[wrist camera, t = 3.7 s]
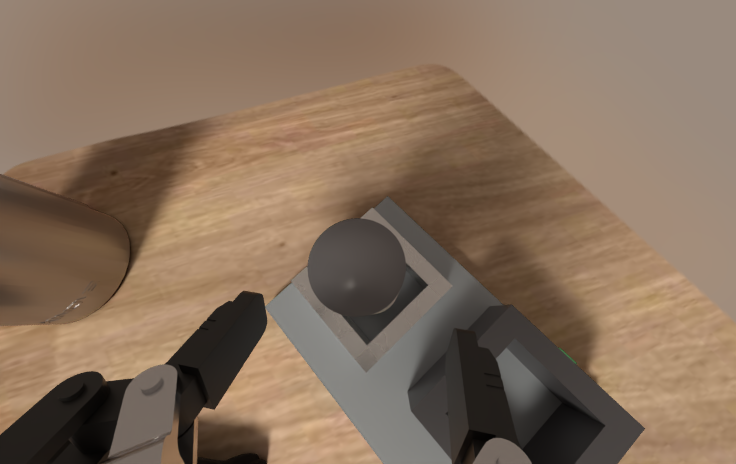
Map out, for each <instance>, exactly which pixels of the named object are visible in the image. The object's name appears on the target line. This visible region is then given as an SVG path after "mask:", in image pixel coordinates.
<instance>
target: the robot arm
mask: <svg viewBox="0 0 736 464" xmlns="http://www.w3.org/2000/svg"><path fill="white" fill-rule="evenodd" d="M129 256H130V243H129V238H128V235H127V232H126V230H125V229H124V227H123V226H122V224H121V223H120V222H119V221H117V220H116V219H115V218H114V217H111V216H109V215H107V214H104V213H101V212H99V211H96V210H93V209H90V208H89V206H88V205H86V204H84V203H81V202H78V201H75V200H72V199H70V198H67V197H64V196H61V195H58V194H56V193H53V192H50V191H47V190H44V189H41V188H39V187H36V186H33V185H30V184H27V183H25V182H22V181H19V180H16V179H13V178H11V177H8V176H5V175H2V174H0V326H18V325H48V324H67V323H71V322H75V321H78V320H80V319H82V318H85V317H87V316H89V315H90V314H92V313H93V312H95V311H96V310H98V309H99V308H100V307H101V306H102V305H103V304H104V303H105V302H107V301H108V300H109V299H110V297H111V296H112V295H113V293H114V292H115V291H116V290H117V288H118V287H119V285H120V283H121V281H122V279H123V277H124V275H125V273H126V270H127V267H128V263H129ZM266 326H267V315H266V310H265V304H264V298H263V295H262V294H260V293H254V292H248V291H243V292H241V293H240V294H239V295H238V296H237V298H236V299H235V300H234V301H233V302H232V301H228V302H226V303H225V304H223V305H222V306H220V307H218V308H217V309H216V310H215V311H214V312H213V313H212V314H211V315H210V316H209V317H208V318H207V321H205V322H204V323H203V324H202V325H201V326H200V327H199V329H197V330H196V331H195V332H194V334H193V335H192V336H191V337H190V338H189V339H188V340H187V341H186V342H185V343H184V344H183V345H182V347H181V348H180V349H179V350H178V351H177V352H176V353H175V354H174V355H173V356H172V357H171V358H170V360H169V361H168V362H167V363H165V364H164V365H158V366H154V367H152V368H149V369H147V370H145V371H144V372H142V373H141V374H139V375H138V376H137V377H136V378H133V379H124V380H116V381H107V382H106V381H105V379H104V378H103V376H102V375H101V374H100V373H98V372H93V371H91V372H84V373H80V374H77V375H75V376H73V377H70V378H68V379H67V380H65V381H63V382H62V383H60V384H59V385H57V386H56V387H55V388H54V389H52V390H51V391H50V392H49V393H48V394H47V395H46V396H44V397H43V398H42V399H41V400H40V401H39V402H38V403H36V404H35V405H34V406H33V407H32V408H31V409H29V410H28V411H27V412H26V413H25V414H24V415H23V416H21V417H20V418H19V419H18V420H17V421H16V422H15V423H13V424H12V425H11V426H10V427H9V428H8V429H7V430H5V431H4V432H3V433H2V434H1V435H0V464H46V463H47V462H48V461H49V460H50V459H51V458H52V456H53V455H54V454H55V453H56V452H57V451H58V450H59V449H60V448H61V447H62V446H63V445H64V444H65V443H66V442H67V441H68V440H69V441H70V442H71V443H70V444H69V445H68V447H67V448H66V449H65V450H64V451H63V452H62V453H61V454H60V455H59V456H58V457H57V458H56V460H55V461H54V462H53V463H52V464H197V441H198V417H197V415H198V414H199V413H200V411H201V410H202V408H203V407H205V408H209V409H214V410H215V408H216V407H217V405H218V403H219V402H220V400H221V399H222V397H223V396H224V394H225V393H226V391H227V389H228V388H229V386H230V385H231V383H232V382H233V380H234V379H235V377H236V375H237V374H238V372H239V371H240V369H241V368H242V366H243V365H244V363H245V361H246V360H247V358H248V357H249V355H250V354H251V352H252V351H253V349H254V348H255V346H256V344H257V343H258V341H259V340H260V338H261V337H262V335H263V333H264V331H265V329H266ZM445 373H446V387H447V401H448V416H449V430H450V444H451V459H452V464H532V463H531V461H530V460H529V458H528V457H527V455H526V454H525V453H524V452H523V450H522V449H521V447H520V444H519V442H518V439H517V435H516V432H515V428H514V424H513V420H512V416H511V412H510V408H509V405H508V401H507V397H506V393H505V391H504V385H503V381H502V379H501V374H500V370H499V366H498V362H497V360H496V359H495V357H494V356H493V354H492V353H491V351H490V350H489V349H488V348H483V347H478V342H477V337H476V333H475V332H474V331H470V330H464V329H458V328H454V330H453V333H452V336H451V339H450V343H449V346H448V350H447V354H446V361H445Z"/></svg>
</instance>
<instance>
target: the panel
mask: <svg viewBox="0 0 736 464" xmlns="http://www.w3.org/2000/svg"><path fill="white" fill-rule="evenodd" d="M374 209H375V210H376V211H377V212H378V213H379V214H380V215H381V216H382V217H383V218H384V219H385V220H386V221H387V222H388V223H389V224H390V225H391V226H392V227H393V228H394V229H395V230H396V231H397V232H398V233H399V234H400V235H401V236H402V237H403V238H404V239H405V240H406V241H407V242H408V243H409V244H410V245H412V246H413V247H414V248H415V249H416V250H417V251H418V252H419V253H420V254H421V255H422V256H423V257H424V258H425V259H426V260H427V261H428V262H429V263H430V264H431V265H432V266H433V267H434V268H435V269H436V270H437V271H438V272H439V273H440V274H441V275H442V276H443V277H444V278H445V279H446V280H447V281H448V282H449V283H450V284H451V285H452V287H451V288H450V289H449V290H448V291H447V292H446V293H445V294H444V295H443V296H442V297H441V298H440V299H439V300H438V301H437V302H436V303H435V304H434V305H433V306H432V307H431V308H430V309H429V310H428V311H427V312H426V313H425V314H424V315H423V316H422V317H421V318H420V319H419V320H418V321H417V322H416V323H415V324H414V325H413V326H412V327H411V328H410V329H409V330H408V331H407V332H406V333H405V334H404V335H403V336H402V337H401V338H400V339H399V340H398V341H397V342H396V343H395V344H394V345H393V346H392V347H391V348H390V349H389V350H388V351H387V352H386V353H385V354H384V355H383V356H382V357H381V358H380V359H379V360H378V361H377V363H376V364H375V365H374V366H373V367H372V368H371V369H370V370H369V371H368V372H367V373H366V372H365V371H364V370H363V368H362V367H361V366H360V365H359V364H358V362H357V361H356V360H355V359H354V357H353V356H352V355H351V354H350V353H349V351H348V350H347V349H346V348H345V346H344V345H343V344H342V343H341V342H340V340H339V339H338V338H337V337H336V335H335V334H334V333H333V332H332V331H331V329H330V328H329V327H328V326H327V324H326V323H325V322H324V321H323V320H322V318H321V317H320V316H319V315H318V313H317V312H316V311H315V310H314V309H313V307H312V306H311V305H310V304H309V302H308V301H307V300H306V299H305V298H304V296H303V295H302V294H301V293H300V291H299V290H298V289H297V288H296V287H295V285H294V284H293V283H291V284H290V285H288V286H287V287H286V288H285V289H284V290H283V291H282V292H281V293H280V294H279V295H277V296H276V297H275V298H274V299H273V300H272V301H271V302H270V303H269V304H267V305H266V306H265V308H266V309H267V311H268V312H269V313H270V315H271V316H272V317H273V319H274V320H275V321H276V323H277V324H278V325H279V327H280V328H281V329H282V331H283V332H284V333H285V334H286V336H287V337H288V338H289V340H290V341H291V342H292V344H293V345H294V346H295V348H296V349H297V350H298V352H299V353H300V354H301V356H302V357H303V358H304V360H305V361H306V362H307V364H308V365H309V366H310V367H311V369H312V370H313V371H314V373H315V374H316V375H317V377H318V378H319V379H320V381H321V382H322V383H323V385H324V386H325V387H326V389H327V390H328V391H329V393H330V394H331V395H332V397H333V398H334V399H335V400H336V402H337V403H338V404H339V406H340V407H341V408H342V410H343V411H344V412H345V414H346V415H347V416H348V418H349V419H350V420H351V422H352V423H353V424H354V426H355V427H356V428H357V430H358V431H359V432H360V433H361V435H362V436H363V437H364V439H365V440H366V441H367V443H368V444H369V445H370V447H371V448H372V449H373V451H374V452H375V453H376V455H377V456H378V457H379V459H380V460H381V461H382V462H383V464H452V460H451V459H450V458H449V456H448V455H447V454H446V453H445V452H444V450H443V449H442V448H441V447H440V446H439V444H438V443H437V442H436V441H435V440H434V438H433V437H432V436H431V435H430V434H429V432H428V431H427V430H426V429H425V428H424V426H423V425H422V424H421V423H420V422H419V420H418V419H417V418H416V417H415V416H414V414H413V413H412V412H411V409H410V404H409V398H408V393H407V392H408V391H409V390H410V389H411V388H412V387H413V386H414V385H415V384H416V383H417V382H418V381H419V380H420V378H421V377H422V376H423V375H424V374H425V373H426V372H427V371H428V370H429V369H430V368H431V367H432V366H433V365H434V364H435V363H436V362H437V361H438V360H439V359H440V358H441V357H442V355H443V354H444V353H445V352H446V351H447V350H448V346H449V343H450V339H451V336H452V333H453V330H454V328H458V329H464V330H467V329H468V328H469V327H470V326H471V325H472V324H473V323H474V322H475V321H476V320H477V319H478V318H479V317H480V316H481V315H482V314H483V313H484V312H485V311H486V310H487V308H488V307H489V306H498V305H503V304H502V303H501V302H500V301H499V300H498V299H497V298H496V297H495V296H493V295H492V294H491V293H490V292H489V291H488V290H487V289H486V288H485V287H484V286H483V285H482V284H481V283H480V282H479V281H477V280H476V279H475V278H474V277H473V276H472V275H471V274H470V273H469V272H468V271H467V270H466V269H465V268H464V267H463V266H462V265H460V264H459V263H458V262H457V261H456V260H455V259H454V258H453V257H452V256H451V255H450V254H449V253H448V252H447V251H446V250H445V249H443V248H442V247H441V246H440V245H439V244H438V243H437V242H436V241H435V240H434V239H433V238H432V237H431V236H430V235H429V234H427V233H426V232H425V231H424V230H423V229H422V228H421V227H420V226H419V225H418V224H417V223H416V222H415V221H414V220H413V219H412V218H410V217H409V216H408V215H407V214H406V213H405V212H404V211H403V210H402V209H401V208H400V207H399V206H398V205H397V204H396V203H395V202H393V201H392V200H391V199H390V198H389V197H388V196H387V197H386V198H385V199H384V200H383V201H382V202H381V203H379V204H378V205H377V206H376V207H375V208H374ZM423 289H424V288H423V287H422V286H421V285H420V284H419V283H418V282H417V281H416V280H415V279H414V278H413V277H412V276H411V275H410V274H409V273H408V272H407V271H406V273H405V278H404V282H403V284H402V287H401V289H400V291H399V294H398V296H397V298H396V300H395V302H394V303H393V305H392V306H391V307H390V308H388V309H387V310H386V311H384V312H381V313H378V314H372V315H367V316H361V317H351V316H349V317H350V318H351V319H352V320H353V322H354V323H355V324H356V325H357V326H358V327H359V329H360V330H361V331H362V332H363V333H364V334H365V336H366V337H367V338H368V339H369V340H370V341H372V340H373V339H374V338H375V337H376V336H377V335H378V334H379V333H380V332H381V331H382V330H383V329H384V328H385V327H386V326H387V325H388V324H389V323H390V322H391V321H392V320H393V319H394V318H395V317H396V316H397V315H398V314H399V313H400V312H401V311H402V310H403V309H404V308H405V307H406V306H407V305H408V304H409V303H410V302H411V301H412V300H413V299H414V298H415V297H416V296H417V295H418V294H419V293H420V292H421V291H422V290H423ZM496 360H497V362H498V366H499V370H500V374H501V379H502V381H503V385H504V391H505V393H506V397H507V401H508V405H509V408H510V412H511V416H512V420H513V424H514V428H515V432H516V435H517V439H518V442H519V444H520V447H521V449H523V448H524V447H525V445H526V444H527V443H528V442H529V441H530V440H531V438H532V437H533V436H534V435H535V434H536V433H537V431H538V430H539V429H540V428H541V427H542V426H543V424H544V423H545V422H546V421H547V420H548V418H549V417H550V416H551V415H552V414H553V413H554V411H555V410H556V409H557V408H558V407H559V406H560V404H561V403H562V402H561V401H560V400H559V399H558V398H557V397H556V396H555V395H554V394H553V393H552V392H551V391H550V390H549V389H548V388H547V387H546V386H545V385H544V384H543V383H542V382H541V381H540V380H538V379H537V378H536V377H535V376H534V375H533V374H532V373H531V372H530V371H529V370H528V369H527V368H526V367H525V366H524V365H523V364H522V363H521V362H520V361H519V360H518V359H517V358H516V357H515V356H514V355H513V354H512V353H511V352H510V351H509V350H508V349H507V348H506V349H505V350H504V351H503V352H502V353H501V354H500V355H499V356H498V357H497V358H496Z"/></svg>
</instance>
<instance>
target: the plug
mask: <svg viewBox="0 0 736 464" xmlns="http://www.w3.org/2000/svg"><path fill="white" fill-rule="evenodd" d="M405 273H406V260H405V255H404V251H403V249H402V246H401V244H400V242H399V241H398V239H397V238H396V236H395V235H394V234H393V233H392V232H391V231H390V230H389V229H388V228H386V227H385V226H383V225H382V224H380V223H378V222H375V221H372V220H368V219H361V218H355V219H347V220H344V221H340V222H338V223H336V224H334V225H332V226H331V227H329V228H328V229H327V230H325V231H324V232H323V233H322V234H321V235H320V236H319V238H318V239H317V240H316V242H315V244H314V245H313V247H312V250H311V252H310V255H309V260H308V278H309V282H310V285H311V288H312V290H313V292H314V294H315V295H316V297H317V298H318V299H319V301H320V302H321V303H322V304H323V305H325V306H326V307H327V308H328V309H330V310H332V311H334V312H336V313H338V314H341V315H345V316H351V317H361V316H367V315H372V314H378V313H381V312H384V311H386V310H387V309H388V308H390V307H391V306H392V305H393V303H394V302H395V300H396V298H397V296H398V294H399V291H400V289H401V287H402V284H403V282H404V278H405Z"/></svg>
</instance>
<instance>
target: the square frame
mask: <svg viewBox="0 0 736 464" xmlns="http://www.w3.org/2000/svg"><path fill="white" fill-rule="evenodd" d="M361 219H368V220H372V221H375V222H378V223H380V224H382V225H383V226H385V227H386V228H388V229H389V230H390V231H391V232H392V233H393V234H394V235H395V236H396V238H397V239H398V241H399V242H400V244H401V246H402V249H403V251H404V255H405V260H406V271H407V272H408V273H409V274H410V275H411V276H412V277H413V278H414V279H415V280H416V281H417V282H418V283H419V284H420V285H421V286H422V287H423V288H424V289H423V290H422V291H421V292H420V293H419V294H418V295H417V296H416V297H415V298H414V299H413V300H412V301H411V302H410V303H409V304H408V305H407V306H406V307H405V308H404V309H403V310H402V311H401V312H400V313H399V314H398V315H397V316H396V317H395V318H394V319H393V320H392V321H391V322H390V323H389V324H388V325H387V326H386V327H385V328H384V329H383V330H382V331H381V332H380V333H379V334H378V335H377V336H376V337H375V338H374V339H373V340H372V341H370V340H369V339H368V338H367V337H366V336H365V334H364V333H363V332H362V331H361V330H360V329H359V327H358V326H357V325H356V324H355V323H354V322H353V320H352V319H351V318H350V317H349V316H345V315H341V314H338V313H336V312H334V311H332V310H330V309H328V308H327V307H326V306H325V305H323V304H322V303H321V302H320V301H319V299H318V298H317V297H316V295H315V294H314V292H313V290H312V288H311V285H310V282H309V278H308V266H307V267H306V268H304V269H303V270H302V271H301V272H300V273H299V274H298V275H297V276H296V277H294V278H293V279H292V280H291V282H292V283H293V284H294V285H295V287H296V288H297V289H298V290H299V291H300V293H301V294H302V295H303V296H304V298H305V299H306V300H307V301H308V302H309V304H310V305H311V306H312V307H313V309H314V310H315V311H316V312H317V313H318V315H319V316H320V317H321V318H322V320H323V321H324V322H325V323H326V324H327V326H328V327H329V328H330V329H331V331H332V332H333V333H334V334H335V335H336V337H337V338H338V339H339V340H340V342H341V343H342V344H343V345H344V346H345V348H346V349H347V350H348V351H349V353H350V354H351V355H352V356H353V357H354V359H355V360H356V361H357V362H358V364H359V365H360V366H361V367H362V368H363V370H364V371H365V372H366V373H367V372H368V371H369V370H370V369H371V368H372V367H373V366H374V365H375V364H376V363H377V361H378V360H379V359H380V358H381V357H382V356H383V355H384V354H385V353H386V352H387V351H388V350H389V349H390V348H391V347H392V346H393V345H394V344H395V343H396V342H397V341H398V340H399V339H400V338H401V337H402V336H403V335H404V334H405V333H406V332H407V331H408V330H409V329H410V328H411V327H412V326H413V325H414V324H415V323H416V322H417V321H418V320H419V319H420V318H421V317H422V316H423V315H424V314H425V313H426V312H427V311H428V310H429V309H430V308H431V307H432V306H433V305H434V304H435V303H436V302H437V301H438V300H439V299H440V298H441V297H442V296H443V295H444V294H445V293H446V292H447V291H448V290H449V289H450V288H451V287H452V285H451V284H450V283H449V282H448V281H447V280H446V279H445V278H444V277H443V276H442V275H441V274H440V273H439V272H438V271H437V270H436V269H435V268H434V267H433V266H432V265H431V264H430V263H429V262H428V261H427V260H426V259H425V258H424V257H423V256H422V255H421V254H420V253H419V252H418V251H417V250H416V249H415V248H414V247H413V246H412V245H410V244H409V243H408V242H407V241H406V240H405V239H404V238H403V237H402V236H401V235H400V234H399V233H398V232H397V231H396V230H395V229H394V228H393V227H392V226H391V225H390V224H389V223H388V222H387V221H386V220H385V219H384V218H383V217H382V216H381V215H380V214H379V213H378V212H377V211H376V210H375V209H374V208H373V207H372V208H371V209H370V210H369V211H368V212H367V213H366V214H364V215H363V216H362V217H361Z"/></svg>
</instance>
